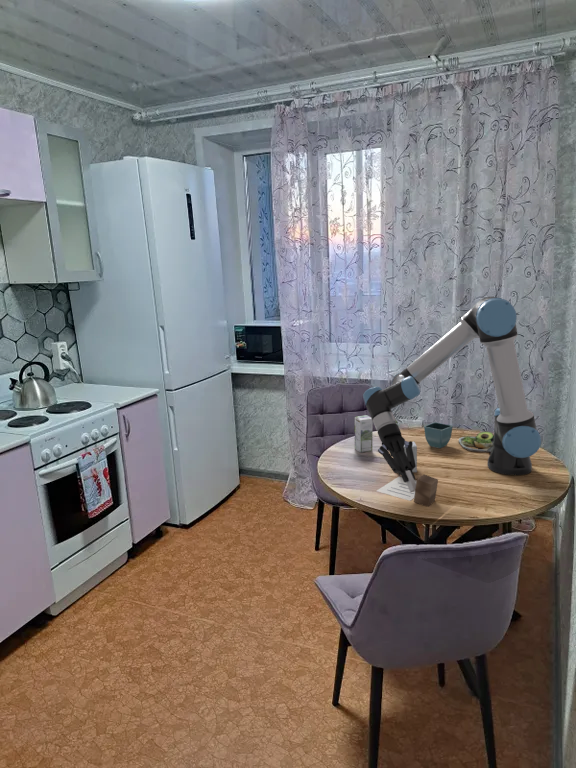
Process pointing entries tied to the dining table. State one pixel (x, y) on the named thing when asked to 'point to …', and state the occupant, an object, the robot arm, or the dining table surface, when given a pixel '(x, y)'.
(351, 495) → the dining table surface
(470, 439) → the avocado toast plate
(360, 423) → the syrup box
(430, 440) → the flower pot
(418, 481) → the walnut block
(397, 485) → the letter
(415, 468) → the small box
